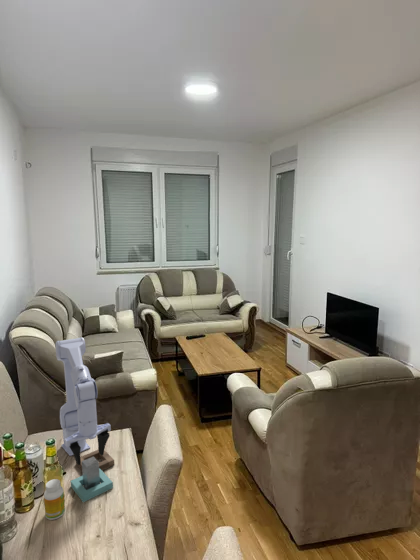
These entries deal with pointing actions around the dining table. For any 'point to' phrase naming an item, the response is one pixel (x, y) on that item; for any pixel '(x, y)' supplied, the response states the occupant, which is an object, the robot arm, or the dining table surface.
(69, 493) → the dining table surface
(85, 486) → the peg
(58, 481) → the supplement bottle
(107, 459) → the socket block
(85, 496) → the teal square frame
